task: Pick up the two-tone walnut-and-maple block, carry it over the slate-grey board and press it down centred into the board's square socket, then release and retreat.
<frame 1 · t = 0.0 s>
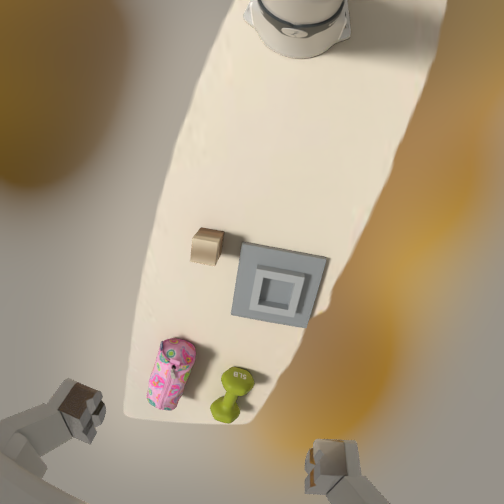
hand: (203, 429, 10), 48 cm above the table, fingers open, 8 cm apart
socket board: (276, 286, 61), on the table
stack block: (211, 240, 59), on the table
dumbbell: (233, 386, 74), on the table
pencil case: (174, 364, 73), on the table
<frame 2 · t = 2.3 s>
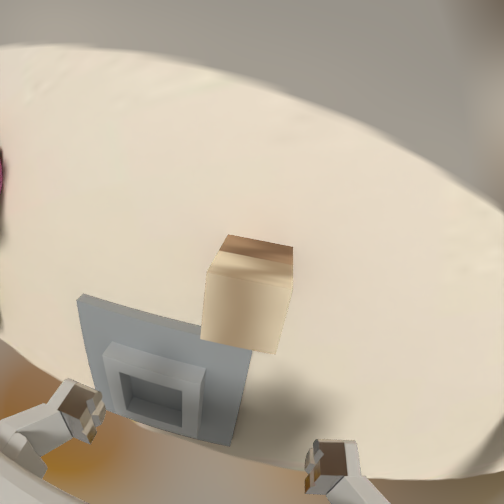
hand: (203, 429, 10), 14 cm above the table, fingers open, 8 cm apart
socket board: (162, 379, 28), on the table
stack block: (255, 269, 22), on the table
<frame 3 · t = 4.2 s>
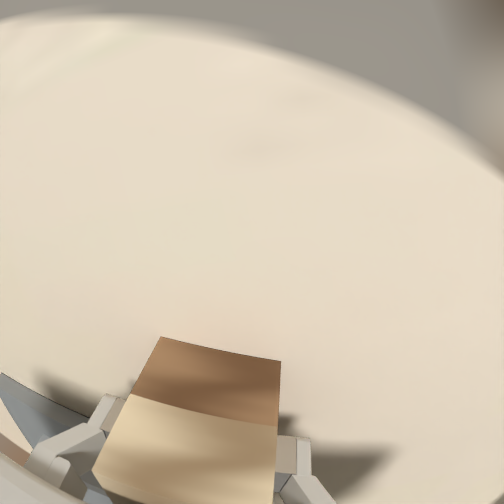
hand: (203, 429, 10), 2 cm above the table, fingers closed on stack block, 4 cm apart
socket board: (114, 472, 17), on the table
stack block: (214, 389, 12), on the table, touching gripper
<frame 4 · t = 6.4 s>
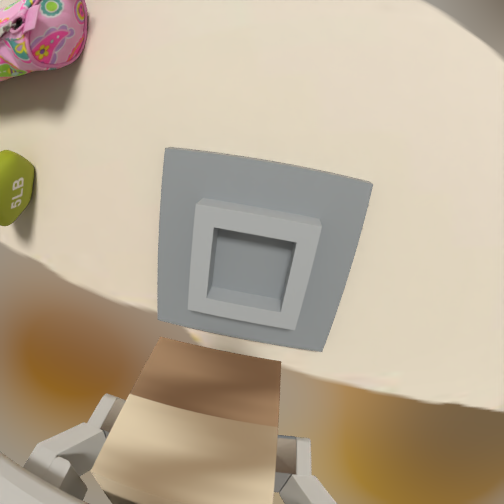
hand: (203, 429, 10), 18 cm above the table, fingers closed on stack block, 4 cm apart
socket board: (253, 255, 26), on the table
stack block: (214, 389, 12), point 16 cm above the table, touching gripper
pencil case: (25, 47, 20), on the table
when the fingers open (4 cm above the table, at t = 8.9 s): stack block stays where it is, resting on socket board.
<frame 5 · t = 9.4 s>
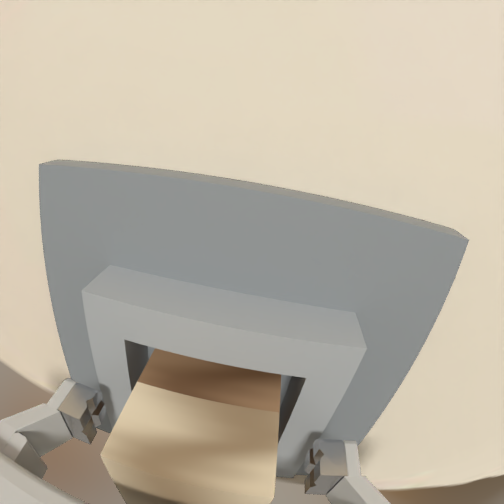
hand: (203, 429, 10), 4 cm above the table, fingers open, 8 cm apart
socket board: (220, 361, 13), on the table
stack block: (217, 380, 12), point 1 cm above the table, touching socket board
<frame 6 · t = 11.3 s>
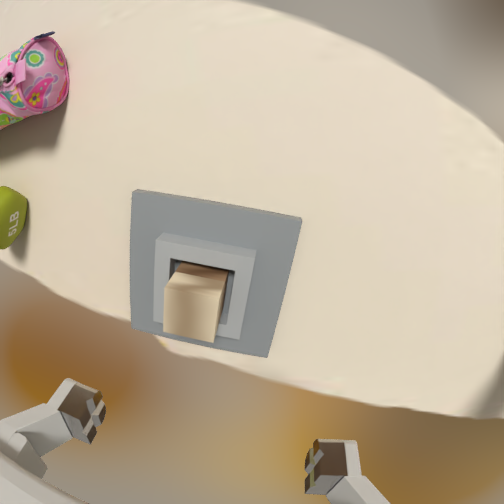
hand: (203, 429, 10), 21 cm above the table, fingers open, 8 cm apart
socket board: (205, 277, 31), on the table
stack block: (204, 283, 30), point 1 cm above the table, touching socket board
pencil case: (14, 97, 25), on the table
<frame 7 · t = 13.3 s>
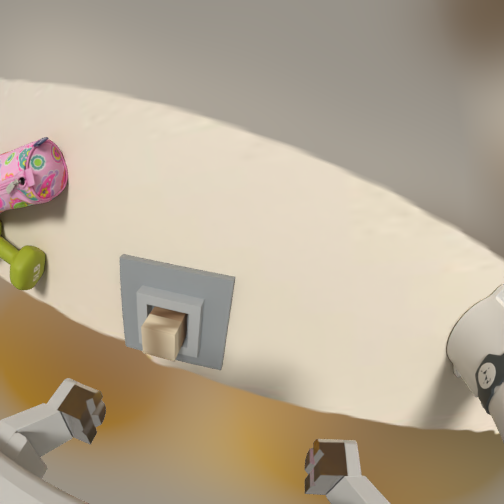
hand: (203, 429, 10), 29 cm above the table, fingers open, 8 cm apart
socket board: (174, 314, 43), on the table
stack block: (172, 318, 42), point 1 cm above the table, touching socket board
dumbbell: (18, 242, 43), on the table
pencil case: (26, 175, 38), on the table
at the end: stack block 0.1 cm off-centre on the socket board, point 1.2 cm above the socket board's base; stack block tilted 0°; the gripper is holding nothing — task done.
